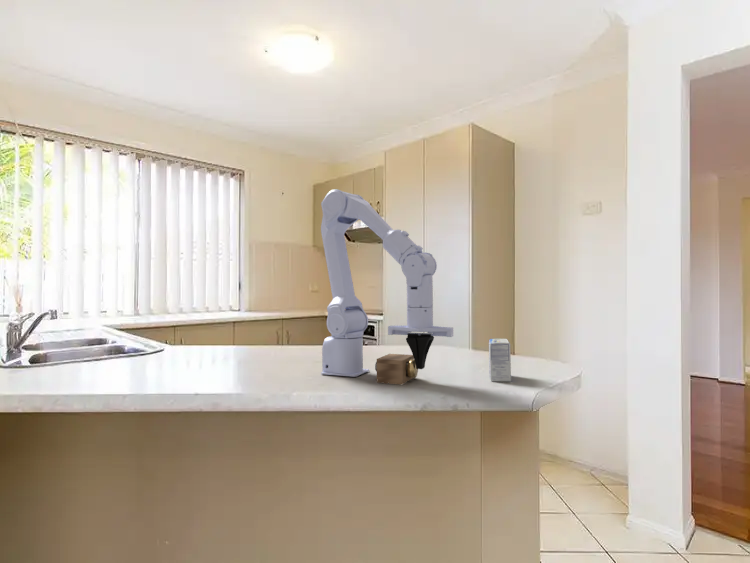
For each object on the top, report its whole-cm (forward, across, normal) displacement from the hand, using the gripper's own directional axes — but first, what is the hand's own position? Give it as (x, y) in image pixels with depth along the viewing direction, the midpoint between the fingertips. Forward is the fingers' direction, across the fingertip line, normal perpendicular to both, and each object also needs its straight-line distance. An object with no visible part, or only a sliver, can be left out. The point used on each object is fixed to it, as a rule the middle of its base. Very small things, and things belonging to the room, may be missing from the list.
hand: (420, 368), depth 105 cm
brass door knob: (+2, -6, 0) cm, 6 cm away
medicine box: (+3, +16, +10) cm, 19 cm away
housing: (+3, -6, 0) cm, 7 cm away
